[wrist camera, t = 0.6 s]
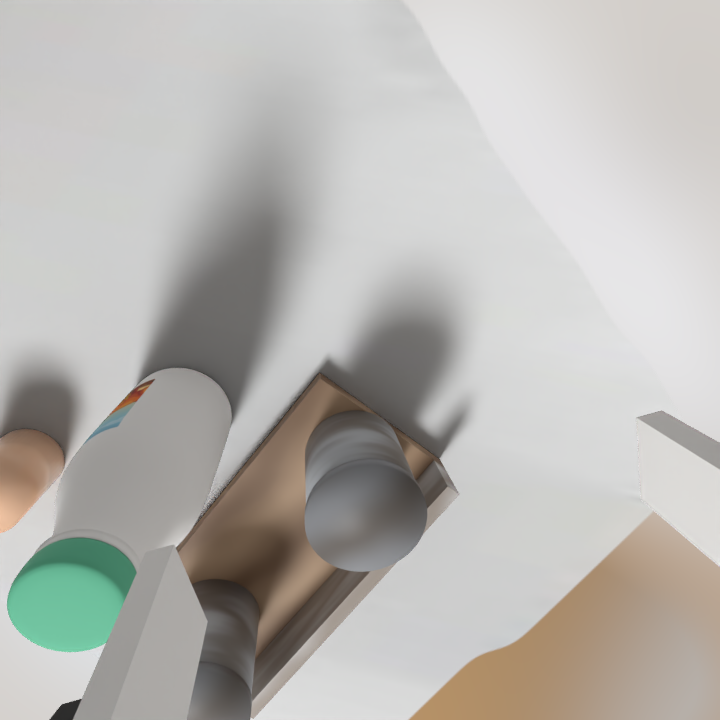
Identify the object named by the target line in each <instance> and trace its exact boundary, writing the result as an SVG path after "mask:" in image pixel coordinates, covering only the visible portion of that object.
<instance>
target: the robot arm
mask: <svg viewBox="0 0 720 720" xmlns="http://www.w3.org/2000/svg"><path fill="white" fill-rule="evenodd" d="M636 422H637V441H638V460H639V479H640V498H641V500H642V501H643V502H644V503H645V504H646V505H648V506H649V507H650V508H651V509H652V510H653V511H655V512H656V513H657V514H658V515H659V516H660V517H662V518H663V519H664V520H665V521H666V522H668V523H669V524H670V525H671V526H672V527H673V528H675V529H676V530H677V531H678V532H679V533H680V534H682V535H683V536H684V537H685V538H686V539H688V540H689V541H690V542H691V543H692V544H693V545H694V546H696V547H697V548H698V549H699V550H700V551H702V552H703V553H704V554H705V555H706V556H707V557H708V558H710V559H711V560H712V561H713V562H714V563H716V564H717V565H718V566H719V567H720V443H719V442H717V441H715V440H714V439H712V438H710V437H708V436H706V435H705V434H703V433H701V432H699V431H698V430H696V429H694V428H692V427H690V426H688V425H687V424H685V423H683V422H682V421H680V420H678V419H676V418H674V417H673V416H671V415H669V414H667V413H665V412H664V411H658V412H655V413H651V414H648V415H644V416H640V417H637V418H636ZM207 622H208V621H207V619H206V617H205V614H204V612H203V610H202V607H201V605H200V603H199V600H198V598H197V596H196V594H195V591H194V589H193V587H192V584H191V582H190V580H189V577H188V575H187V573H186V570H185V568H184V566H183V563H182V561H181V559H180V556H179V554H178V552H177V550H176V547H175V545H174V544H173V545H169V546H166V547H162V548H158V549H155V550H151V551H148V552H146V553H145V555H144V558H143V560H142V562H141V564H140V567H139V569H138V571H137V574H136V576H135V578H134V580H133V583H132V585H131V587H130V590H129V592H128V594H127V597H126V599H125V601H124V603H123V606H122V608H121V610H120V613H119V615H118V617H117V619H116V622H115V624H114V626H113V629H112V631H111V633H110V636H109V638H108V640H107V642H106V645H105V647H104V649H103V652H102V654H101V656H100V658H99V661H98V663H97V665H96V668H95V670H94V673H93V675H92V677H91V679H90V681H89V684H88V686H87V688H86V691H85V693H84V695H83V698H82V699H80V700H76V701H73V702H69V703H65V704H62V705H61V706H60V707H59V709H58V710H57V711H56V712H55V714H54V715H53V716H52V717H51V719H50V720H187V716H188V711H189V706H190V702H191V697H192V692H193V688H194V683H195V678H196V674H197V669H198V664H199V660H200V655H201V650H202V646H203V641H204V636H205V632H206V627H207Z"/></svg>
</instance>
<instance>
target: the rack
mask: <svg viewBox="0 0 720 720" xmlns="http://www.w3.org/2000/svg"><path fill="white" fill-rule="evenodd" d="M458 495H459V493H458V491H457V489H456V488H455V486H454V484H453V482H452V480H451V479H450V477H449V475H448V473H447V472H446V470H445V468H444V466H443V464H442V463H441V461H440V459H439V458H437V457H436V456H435V455H433V454H432V453H430V452H429V451H428V450H426V449H425V448H423V447H422V446H421V445H419V444H418V443H417V442H415V441H414V440H412V439H411V438H410V437H408V436H407V435H406V434H404V433H403V432H401V431H400V430H399V429H397V428H396V427H394V426H393V425H392V424H390V423H389V422H388V421H386V420H385V419H383V418H382V417H381V416H379V415H378V414H376V413H375V412H374V411H372V410H371V409H370V408H368V407H367V406H365V405H364V404H363V403H361V402H360V401H359V400H357V399H356V398H354V397H353V396H352V395H350V394H349V393H347V392H346V391H345V390H343V389H342V388H341V387H339V386H338V385H336V384H335V383H334V382H332V381H331V380H329V379H328V378H327V377H325V376H324V375H323V374H321V373H319V374H318V375H317V376H316V377H315V379H314V380H313V381H312V382H311V384H310V385H309V386H308V387H307V389H306V390H305V391H304V392H303V393H302V395H301V396H300V397H299V398H298V400H297V401H296V402H295V403H294V405H293V406H292V407H291V408H290V409H289V411H288V412H287V413H286V414H285V416H284V417H283V418H282V419H281V421H280V422H279V423H278V424H277V425H276V427H275V428H274V429H273V430H272V432H271V433H270V434H269V435H268V437H267V438H266V439H265V440H264V441H263V443H262V444H261V445H260V446H259V448H258V449H257V450H256V451H255V453H254V454H253V455H252V456H251V457H250V459H249V460H248V461H247V462H246V464H245V465H244V466H243V467H242V469H241V470H240V471H239V472H238V473H237V475H236V476H235V477H234V478H233V480H232V481H231V482H230V483H229V485H228V486H227V487H226V488H225V489H224V491H223V492H222V493H221V494H220V496H219V497H218V498H217V499H216V501H215V502H214V503H213V504H212V505H211V507H210V508H209V509H208V510H207V512H206V513H205V514H204V515H203V517H202V518H201V519H200V520H199V521H198V523H197V524H196V525H195V526H194V528H193V529H192V530H191V531H190V533H189V534H188V535H187V536H186V537H185V539H184V540H183V541H182V542H181V544H180V545H179V546H178V547H177V549H176V550H177V552H178V554H179V556H180V559H181V561H182V563H183V566H184V568H185V570H186V573H187V575H188V577H189V580H190V582H191V584H192V587H193V589H194V591H195V594H196V596H197V598H198V600H199V603H200V605H201V607H202V610H203V612H204V614H205V617H206V619H207V621H208V622H207V627H206V632H205V636H204V641H203V646H202V650H201V655H200V660H199V664H198V669H197V674H196V678H195V683H194V688H193V692H192V697H191V702H190V706H189V711H188V716H187V720H250V717H251V718H253V719H254V717H255V716H256V715H257V714H258V713H259V712H260V711H261V710H262V709H263V708H264V707H265V705H266V704H267V703H268V702H269V701H270V700H271V699H272V698H273V697H274V696H275V695H276V694H277V692H278V691H279V690H280V689H281V688H282V687H283V686H284V685H285V684H286V683H287V682H288V680H289V679H290V678H291V677H292V676H293V675H294V674H295V673H296V672H297V671H298V670H299V668H300V667H301V666H302V665H303V664H304V663H305V662H306V661H307V660H308V659H309V658H310V656H311V655H312V654H313V653H314V652H315V651H316V650H317V649H318V648H319V647H320V646H321V645H322V643H323V642H324V641H325V640H326V639H327V638H328V637H329V636H330V635H331V634H332V633H333V631H334V630H335V629H336V628H337V627H338V626H339V625H340V624H341V623H342V622H343V621H344V619H345V618H346V617H347V616H348V615H349V614H350V613H351V612H352V611H353V610H354V609H355V607H356V606H357V605H358V604H359V603H360V602H361V601H362V600H363V599H364V598H365V597H366V596H367V594H368V593H369V592H370V591H371V590H372V589H373V588H374V587H375V586H376V585H377V584H378V582H379V581H380V580H381V579H382V578H383V577H384V576H385V575H386V574H387V573H388V572H389V570H390V569H391V568H392V567H393V566H394V565H395V564H396V563H397V562H398V561H399V560H401V559H402V558H404V557H405V556H406V555H407V554H409V553H410V552H411V551H412V550H413V548H414V547H415V546H416V545H417V543H418V542H419V540H420V539H421V537H422V535H423V533H424V532H425V531H426V530H427V529H428V528H429V527H430V526H431V525H432V524H433V523H434V521H435V520H436V519H437V518H438V517H439V516H440V515H441V514H442V513H443V512H444V511H445V509H446V508H447V507H448V506H449V505H450V504H451V503H452V502H453V501H454V500H455V499H456V498H457V496H458Z"/></svg>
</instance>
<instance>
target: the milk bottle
mask: <svg viewBox="0 0 720 720" xmlns="http://www.w3.org/2000/svg"><path fill="white" fill-rule="evenodd" d="M231 420H232V413H231V406H230V403H229V400H228V398H227V396H226V394H225V393H224V391H223V390H222V388H221V387H220V386H219V385H218V384H217V383H216V382H215V381H214V380H212V379H211V378H210V377H208V376H206V375H205V374H203V373H200V372H198V371H195V370H191V369H187V368H168V369H163V370H160V371H157V372H155V373H152V374H151V375H149V376H147V377H146V378H145V379H143V380H142V381H141V382H140V383H139V384H138V385H137V386H136V387H135V388H134V389H133V390H132V391H131V392H130V393H129V394H128V395H127V396H126V397H125V399H124V400H123V401H122V402H121V403H120V404H119V405H118V406H117V407H116V408H115V409H114V410H113V412H112V413H111V414H110V415H109V416H108V417H107V418H106V419H105V420H104V421H103V422H102V424H101V425H100V426H99V427H98V428H97V429H96V430H95V431H94V432H93V434H92V435H91V436H90V437H89V438H88V439H87V440H86V442H85V443H84V444H83V445H82V447H81V448H80V449H79V450H78V452H77V453H76V454H75V456H74V457H73V458H72V460H71V462H70V463H69V465H68V467H67V468H66V470H65V472H64V474H63V476H62V479H61V481H60V484H59V487H58V490H57V495H56V500H55V511H54V532H53V536H52V537H50V538H49V539H48V540H46V541H45V542H44V543H43V544H42V545H41V546H40V547H39V548H38V549H37V551H36V552H35V554H34V555H33V557H32V558H31V559H30V560H29V561H28V562H27V563H26V565H25V566H24V567H23V568H22V570H21V571H20V573H19V574H18V575H17V577H16V578H15V580H14V582H13V583H12V586H11V588H10V591H9V595H8V599H7V609H8V613H9V617H10V619H11V621H12V623H13V625H14V626H15V627H16V629H17V630H18V631H19V632H20V633H21V634H22V635H23V636H24V637H26V638H27V639H28V640H30V641H31V642H33V643H35V644H37V645H39V646H41V647H44V648H47V649H51V650H55V651H62V652H79V651H86V650H90V649H93V648H96V647H99V646H101V645H103V644H105V643H106V642H107V640H108V638H109V636H110V633H111V631H112V629H113V626H114V624H115V622H116V619H117V617H118V615H119V613H120V610H121V608H122V606H123V603H124V601H125V599H126V597H127V594H128V592H129V590H130V587H131V585H132V583H133V580H134V578H135V576H136V574H137V571H138V569H139V567H140V564H141V562H142V560H143V558H144V555H145V553H146V552H148V551H151V550H155V549H158V548H162V547H166V546H169V545H173V544H174V545H175V547H177V546H178V545H179V544H180V543H181V542H182V541H183V540H184V538H185V537H186V536H187V535H188V533H189V532H190V531H191V529H192V528H193V526H194V525H195V523H196V521H197V520H198V518H199V516H200V514H201V512H202V509H203V507H204V504H205V502H206V499H207V497H208V494H209V492H210V489H211V486H212V483H213V480H214V477H215V474H216V471H217V468H218V465H219V462H220V459H221V456H222V453H223V450H224V447H225V444H226V440H227V437H228V434H229V430H230V426H231Z"/></svg>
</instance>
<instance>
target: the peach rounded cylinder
mask: <svg viewBox="0 0 720 720" xmlns="http://www.w3.org/2000/svg"><path fill="white" fill-rule="evenodd" d="M64 464H65V459H64V454H63V451H62V449H61V447H60V446H59V445H58V443H57V442H56V441H55V440H54V439H53V438H51V437H50V436H48V435H47V434H45V433H43V432H40V431H37V430H32V429H19V430H14V431H11V432H9V433H7V434H6V435H4V436H3V437H2V438H0V533H2V532H5V531H7V530H9V529H11V528H12V527H13V526H15V525H16V524H17V523H18V522H19V520H20V519H21V518H22V517H23V516H24V515H25V514H26V513H27V512H28V510H29V509H30V508H31V507H32V506H33V505H34V504H35V503H36V502H37V500H38V499H39V498H40V497H41V496H42V495H43V494H44V493H45V492H46V491H47V489H48V488H49V487H50V486H51V485H52V484H53V483H54V482H55V481H56V479H57V478H58V477H59V476H60V475H61V473H62V471H63V469H64Z"/></svg>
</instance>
